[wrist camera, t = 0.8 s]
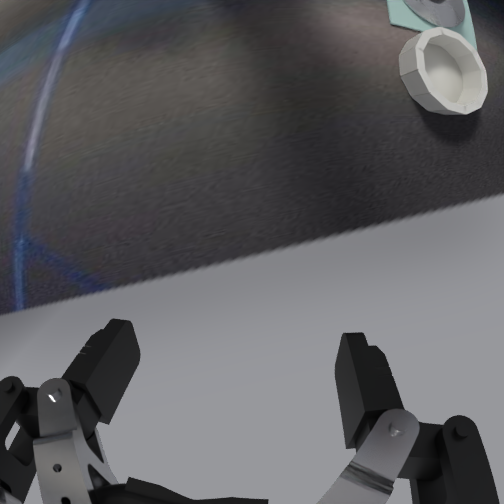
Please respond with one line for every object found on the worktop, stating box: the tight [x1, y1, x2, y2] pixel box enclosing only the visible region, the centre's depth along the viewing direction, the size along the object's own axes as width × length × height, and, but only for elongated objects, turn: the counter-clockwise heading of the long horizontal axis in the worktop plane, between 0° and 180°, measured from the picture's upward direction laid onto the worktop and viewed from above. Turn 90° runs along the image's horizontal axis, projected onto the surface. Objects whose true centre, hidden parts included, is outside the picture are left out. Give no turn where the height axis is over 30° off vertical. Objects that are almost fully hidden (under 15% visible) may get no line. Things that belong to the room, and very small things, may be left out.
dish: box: [399, 27, 488, 115], centre depth 24 cm, size 11×11×5 cm
